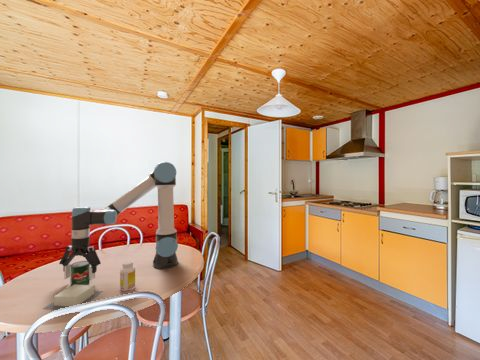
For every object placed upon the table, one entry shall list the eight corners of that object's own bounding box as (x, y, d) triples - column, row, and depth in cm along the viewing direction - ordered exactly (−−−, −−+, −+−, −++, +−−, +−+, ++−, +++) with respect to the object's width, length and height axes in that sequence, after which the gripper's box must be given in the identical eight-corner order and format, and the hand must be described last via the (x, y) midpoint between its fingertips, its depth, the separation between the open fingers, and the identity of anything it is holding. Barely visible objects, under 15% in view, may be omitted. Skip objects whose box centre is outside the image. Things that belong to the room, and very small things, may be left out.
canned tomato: (83, 280, 112) (83, 259, 112) (93, 282, 109) (93, 261, 109) (66, 287, 104) (66, 265, 104) (76, 290, 102) (76, 267, 102)
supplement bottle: (137, 284, 108) (137, 259, 108) (132, 291, 101) (132, 264, 101) (123, 285, 107) (123, 260, 107) (117, 292, 100) (118, 265, 100)
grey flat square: (103, 292, 100) (103, 291, 100) (76, 311, 85) (76, 310, 85) (73, 290, 101) (73, 289, 101) (42, 309, 86) (42, 308, 86)
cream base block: (94, 293, 98) (94, 285, 98) (76, 306, 88) (76, 297, 88) (74, 292, 98) (74, 284, 98) (53, 305, 88) (54, 296, 88)
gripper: (50, 238, 104) (49, 280, 104) (98, 239, 102) (97, 283, 102) (64, 234, 111) (63, 274, 111) (109, 235, 110) (108, 276, 110)
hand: (79, 278), depth 107 cm, fingers open, 13 cm apart
